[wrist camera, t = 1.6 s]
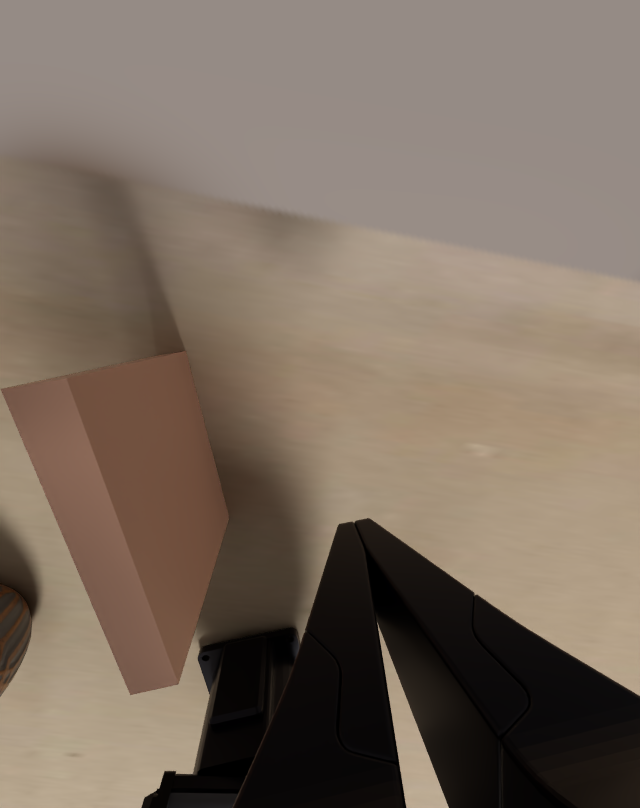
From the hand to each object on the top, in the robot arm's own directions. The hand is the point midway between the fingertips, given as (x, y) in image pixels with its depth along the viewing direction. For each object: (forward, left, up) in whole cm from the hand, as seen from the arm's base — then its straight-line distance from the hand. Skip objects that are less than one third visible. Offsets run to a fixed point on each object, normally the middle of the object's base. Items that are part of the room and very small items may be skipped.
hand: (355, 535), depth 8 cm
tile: (0, +7, -10) cm, 12 cm away
